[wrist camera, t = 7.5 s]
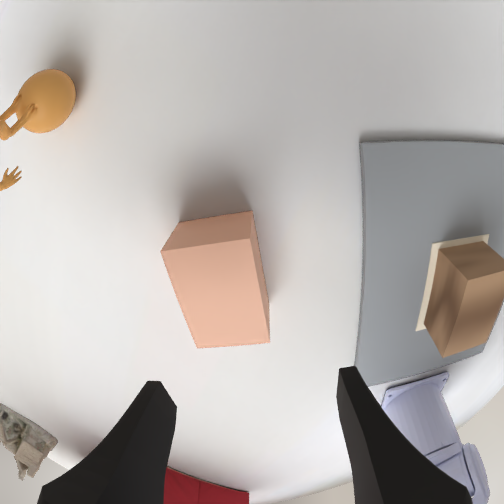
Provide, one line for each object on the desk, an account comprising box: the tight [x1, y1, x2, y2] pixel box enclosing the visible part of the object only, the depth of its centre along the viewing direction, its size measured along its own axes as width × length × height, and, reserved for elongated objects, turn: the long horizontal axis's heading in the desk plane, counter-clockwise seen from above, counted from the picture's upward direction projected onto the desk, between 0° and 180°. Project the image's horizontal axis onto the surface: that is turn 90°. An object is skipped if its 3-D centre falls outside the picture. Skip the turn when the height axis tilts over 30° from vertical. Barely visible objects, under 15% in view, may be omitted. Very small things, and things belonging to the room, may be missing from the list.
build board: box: [355, 140, 504, 387], centre depth 19 cm, size 22×16×1 cm
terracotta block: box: [160, 211, 270, 348], centre depth 17 cm, size 7×5×4 cm, turn 10°
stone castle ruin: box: [0, 404, 58, 480], centre depth 35 cm, size 16×16×15 cm
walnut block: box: [423, 241, 504, 358], centre depth 17 cm, size 7×5×4 cm, turn 10°
